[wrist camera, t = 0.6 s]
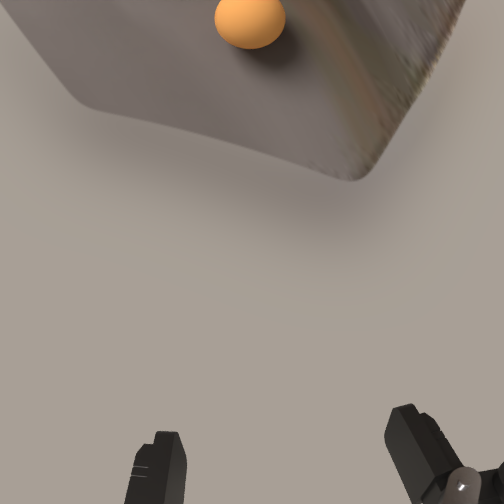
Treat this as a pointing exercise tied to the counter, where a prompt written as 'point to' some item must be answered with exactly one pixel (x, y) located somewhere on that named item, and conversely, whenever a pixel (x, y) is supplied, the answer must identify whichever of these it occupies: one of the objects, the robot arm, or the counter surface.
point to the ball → (250, 22)
